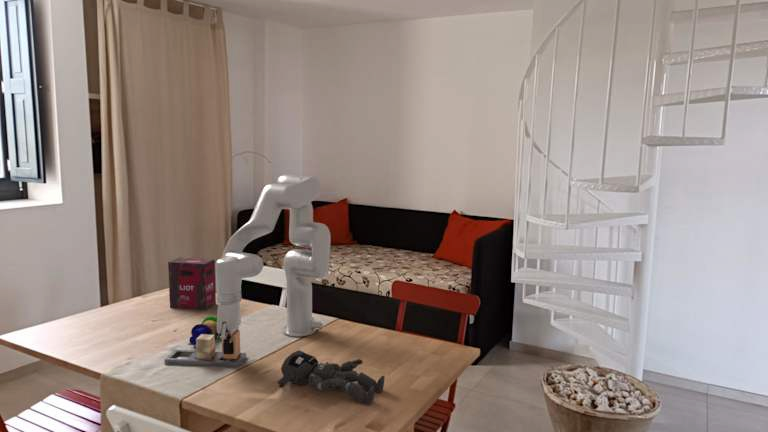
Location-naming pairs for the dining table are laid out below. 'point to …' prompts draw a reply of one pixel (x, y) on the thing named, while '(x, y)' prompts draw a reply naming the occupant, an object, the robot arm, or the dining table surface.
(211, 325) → the toy
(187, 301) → the box
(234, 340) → the terracotta block
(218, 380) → the dining table surface
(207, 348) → the beech block
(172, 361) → the rail
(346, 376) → the robot
